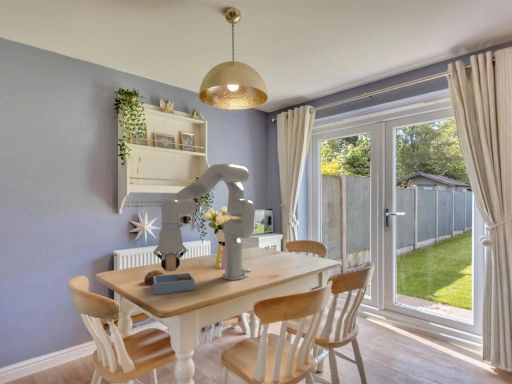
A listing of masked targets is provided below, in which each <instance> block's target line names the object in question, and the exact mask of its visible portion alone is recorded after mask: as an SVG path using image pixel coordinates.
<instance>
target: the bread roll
mask: <svg viewBox="0 0 512 384" xmlns="http://www.w3.org/2000/svg"><path fill="white" fill-rule="evenodd" d="M159 275H165V274H164V273H163V272H162V271H161V270H157V269H154V270H151V271H149V272H148V273H146V274H145V276H144V279H143V281H144V283H145V285H148V286H153V276H159Z"/></svg>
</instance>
